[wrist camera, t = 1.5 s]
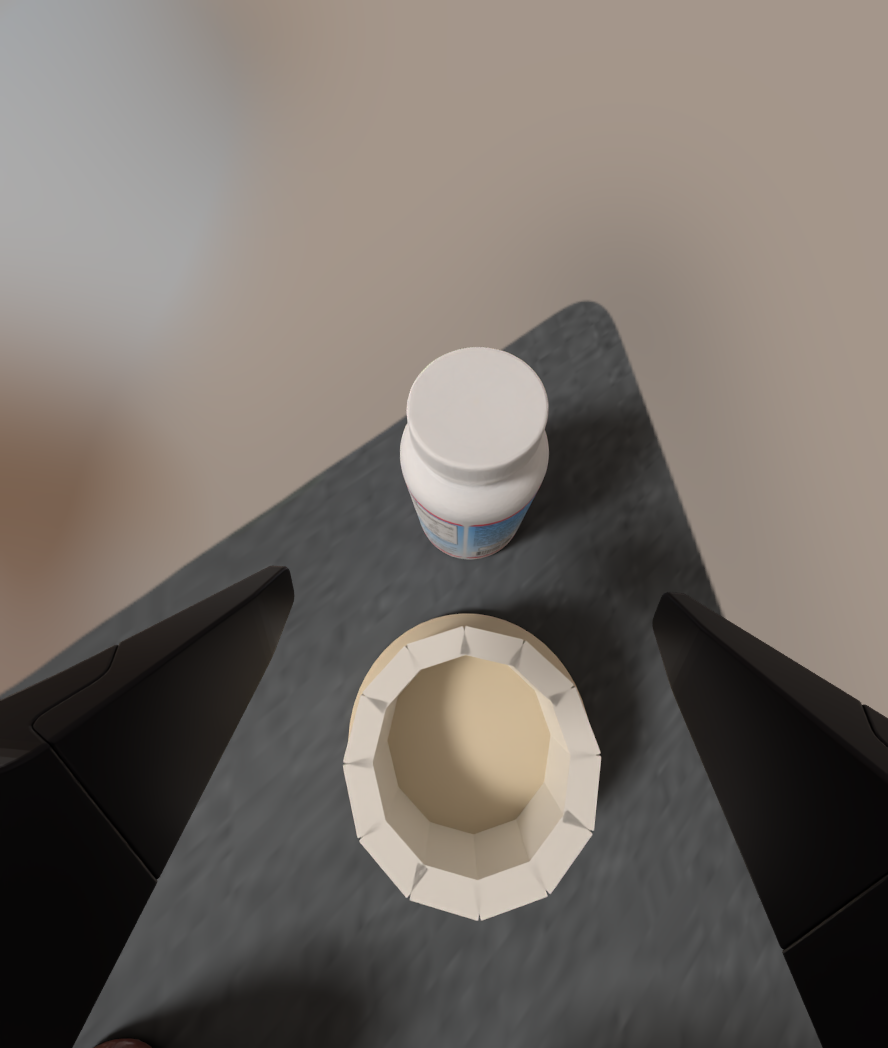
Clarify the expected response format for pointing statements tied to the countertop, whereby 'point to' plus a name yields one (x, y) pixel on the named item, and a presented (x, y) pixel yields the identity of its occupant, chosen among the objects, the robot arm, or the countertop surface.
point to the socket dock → (471, 766)
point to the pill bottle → (474, 449)
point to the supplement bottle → (124, 1044)
